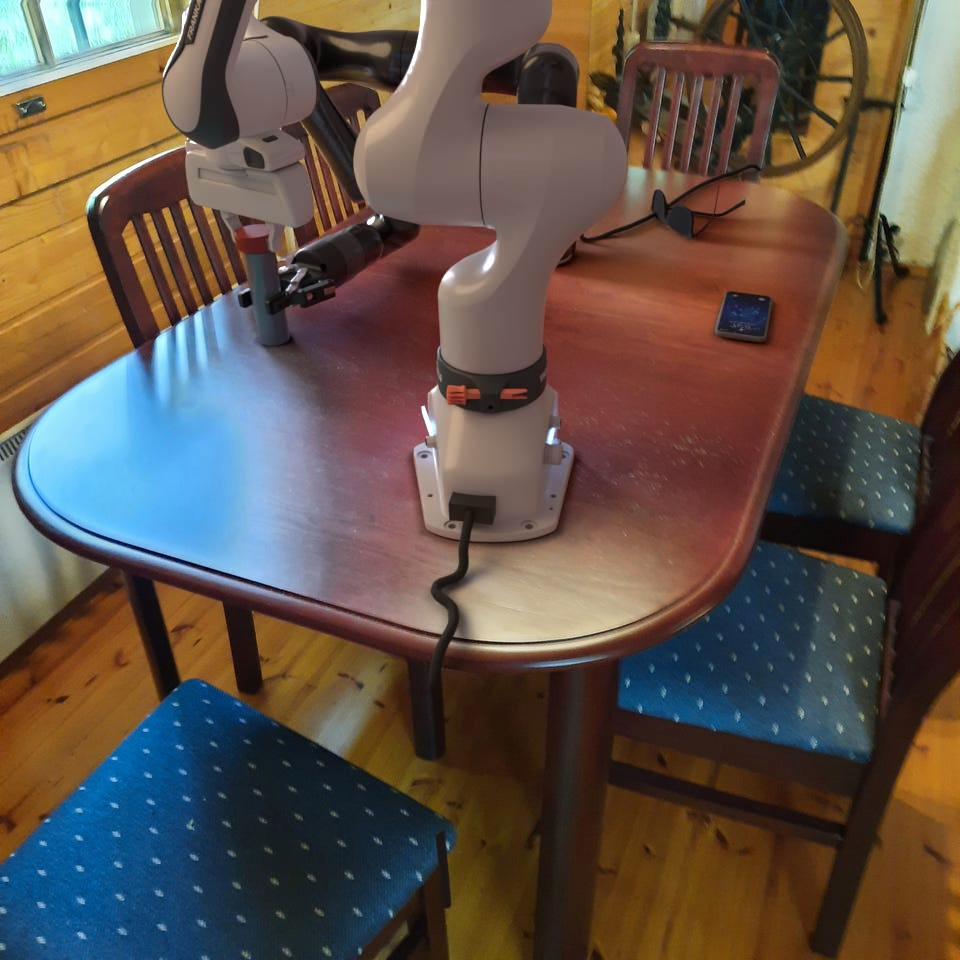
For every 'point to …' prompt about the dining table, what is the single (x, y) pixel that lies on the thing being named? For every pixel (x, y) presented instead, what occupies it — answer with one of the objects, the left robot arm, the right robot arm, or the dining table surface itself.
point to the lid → (252, 238)
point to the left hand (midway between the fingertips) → (257, 246)
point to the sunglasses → (682, 214)
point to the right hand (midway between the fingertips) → (254, 305)
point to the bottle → (266, 297)
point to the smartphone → (744, 316)
